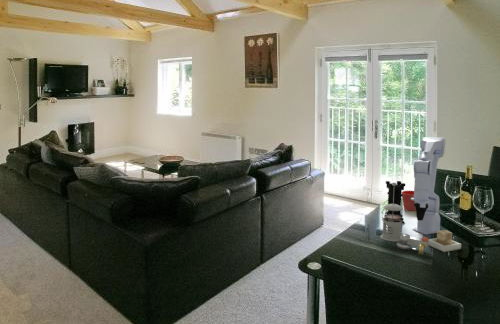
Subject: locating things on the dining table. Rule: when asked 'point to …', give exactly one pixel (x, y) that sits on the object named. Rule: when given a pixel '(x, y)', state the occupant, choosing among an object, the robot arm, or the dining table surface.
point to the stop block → (444, 237)
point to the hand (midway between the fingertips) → (419, 219)
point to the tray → (443, 248)
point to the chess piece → (395, 197)
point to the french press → (392, 222)
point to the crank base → (410, 247)
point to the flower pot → (408, 200)
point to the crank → (413, 240)
